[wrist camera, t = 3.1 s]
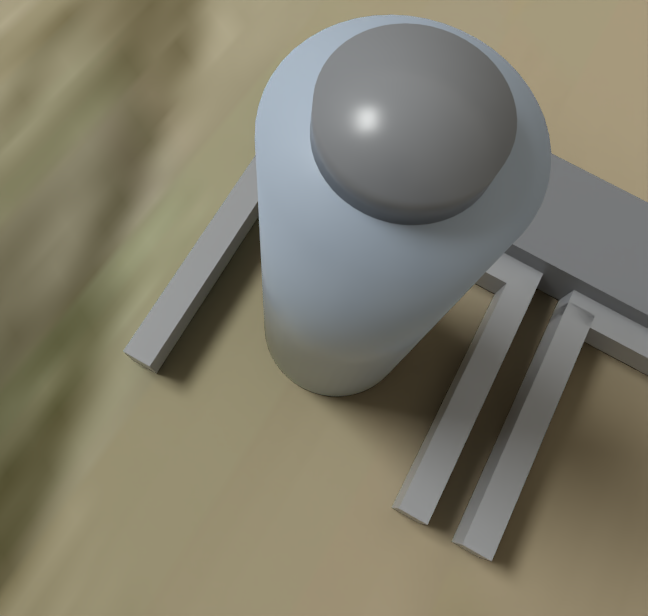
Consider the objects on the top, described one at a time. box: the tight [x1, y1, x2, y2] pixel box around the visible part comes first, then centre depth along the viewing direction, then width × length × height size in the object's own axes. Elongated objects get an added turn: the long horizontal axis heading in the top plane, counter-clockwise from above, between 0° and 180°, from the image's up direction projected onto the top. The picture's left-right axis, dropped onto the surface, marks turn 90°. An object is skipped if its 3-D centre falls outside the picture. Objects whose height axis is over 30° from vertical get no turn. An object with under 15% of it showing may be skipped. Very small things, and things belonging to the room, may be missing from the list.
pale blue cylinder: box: [255, 15, 551, 396], centre depth 16 cm, size 5×5×13 cm
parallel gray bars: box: [123, 154, 648, 561], centre depth 21 cm, size 24×14×2 cm, turn 61°
